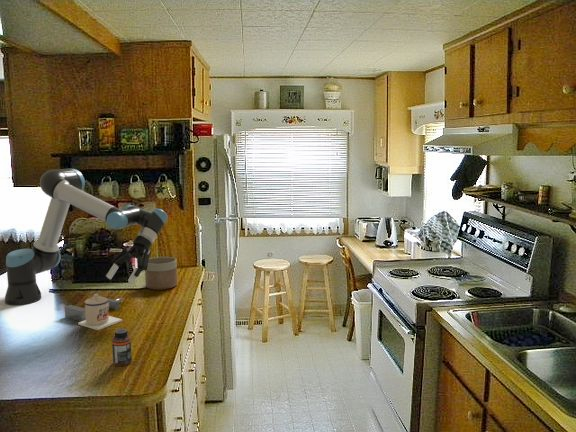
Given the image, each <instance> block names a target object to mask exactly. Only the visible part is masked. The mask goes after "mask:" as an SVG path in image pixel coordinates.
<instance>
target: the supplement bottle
mask: <svg viewBox="0 0 576 432" xmlns="http://www.w3.org/2000/svg"><path fill="white" fill-rule="evenodd" d="M131 339H132V338H131V336H130V335H129V334H128V329H126V328H119V329H118V328H117V329H115V330H114V336H113V337H112V339H111V343H112V344H111V347H112V348H111V349H112V361H113V365H115V366H116V367H117V366H118V367H125V366H127V365H130V363H131V362H132V359H133V358H132V342H131V341H132V340H131Z"/></svg>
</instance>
